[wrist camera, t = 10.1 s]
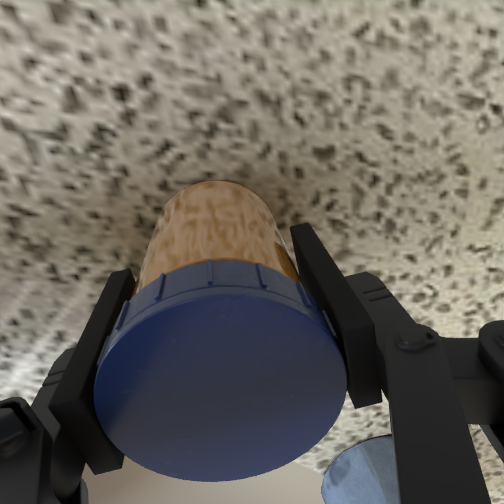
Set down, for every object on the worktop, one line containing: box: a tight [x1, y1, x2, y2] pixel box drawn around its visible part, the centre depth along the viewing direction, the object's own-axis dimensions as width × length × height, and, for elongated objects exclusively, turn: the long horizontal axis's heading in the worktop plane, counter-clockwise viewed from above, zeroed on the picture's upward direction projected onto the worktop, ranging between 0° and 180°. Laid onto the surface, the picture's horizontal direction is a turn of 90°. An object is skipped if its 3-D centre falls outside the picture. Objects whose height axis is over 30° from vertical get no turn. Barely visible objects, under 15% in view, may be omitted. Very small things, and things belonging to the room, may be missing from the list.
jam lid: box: [93, 259, 347, 482], centre depth 10 cm, size 6×6×2 cm
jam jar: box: [130, 180, 305, 300], centre depth 14 cm, size 6×6×9 cm
